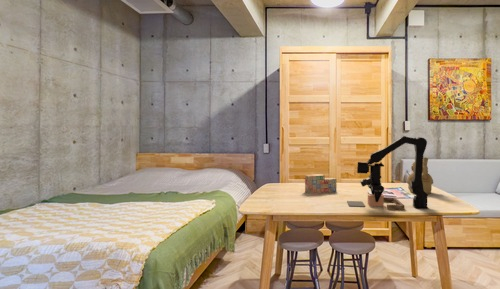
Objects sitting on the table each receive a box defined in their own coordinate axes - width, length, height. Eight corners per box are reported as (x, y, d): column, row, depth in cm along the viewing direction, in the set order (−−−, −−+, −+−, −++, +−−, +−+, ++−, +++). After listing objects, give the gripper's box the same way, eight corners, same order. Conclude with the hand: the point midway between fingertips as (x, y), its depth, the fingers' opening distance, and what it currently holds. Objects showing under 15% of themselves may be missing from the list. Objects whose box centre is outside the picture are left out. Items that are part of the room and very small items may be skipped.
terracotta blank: (381, 204, 204) (381, 194, 204) (383, 206, 199) (383, 196, 199) (367, 204, 206) (367, 194, 205) (369, 205, 201) (369, 195, 200)
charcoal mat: (362, 202, 209) (362, 201, 209) (365, 206, 198) (365, 205, 198) (346, 201, 211) (346, 200, 211) (349, 206, 199) (349, 205, 199)
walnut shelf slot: (395, 201, 210) (395, 197, 210) (404, 209, 190) (404, 205, 190) (379, 201, 212) (379, 197, 212) (387, 209, 191) (387, 205, 191)
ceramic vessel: (427, 190, 246) (427, 155, 245) (439, 195, 227) (440, 157, 225) (402, 189, 248) (402, 155, 247) (412, 195, 229) (413, 158, 227)
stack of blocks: (332, 190, 250) (332, 173, 249) (336, 191, 244) (336, 174, 243) (304, 191, 245) (304, 174, 245) (308, 193, 239) (308, 175, 239)
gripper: (358, 171, 212) (358, 196, 213) (363, 176, 194) (363, 203, 195) (377, 171, 210) (377, 197, 211) (384, 176, 192) (384, 204, 193)
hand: (375, 200), depth 202 cm, fingers open, 9 cm apart
